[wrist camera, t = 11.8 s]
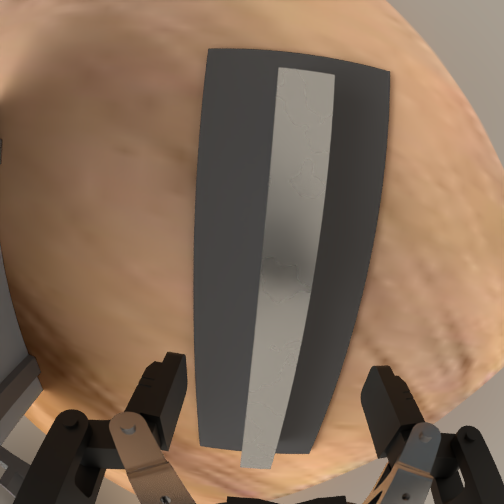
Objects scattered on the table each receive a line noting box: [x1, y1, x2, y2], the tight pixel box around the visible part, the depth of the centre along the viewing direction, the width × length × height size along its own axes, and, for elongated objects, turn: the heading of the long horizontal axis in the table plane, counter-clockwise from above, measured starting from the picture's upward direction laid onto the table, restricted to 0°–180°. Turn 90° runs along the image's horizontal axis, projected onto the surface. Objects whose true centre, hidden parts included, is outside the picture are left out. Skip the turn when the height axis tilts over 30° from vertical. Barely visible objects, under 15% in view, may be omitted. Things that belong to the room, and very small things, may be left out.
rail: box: [240, 67, 335, 469], centre depth 16 cm, size 26×2×3 cm, turn 175°
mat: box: [193, 49, 390, 454], centre depth 17 cm, size 30×10×1 cm, turn 175°
